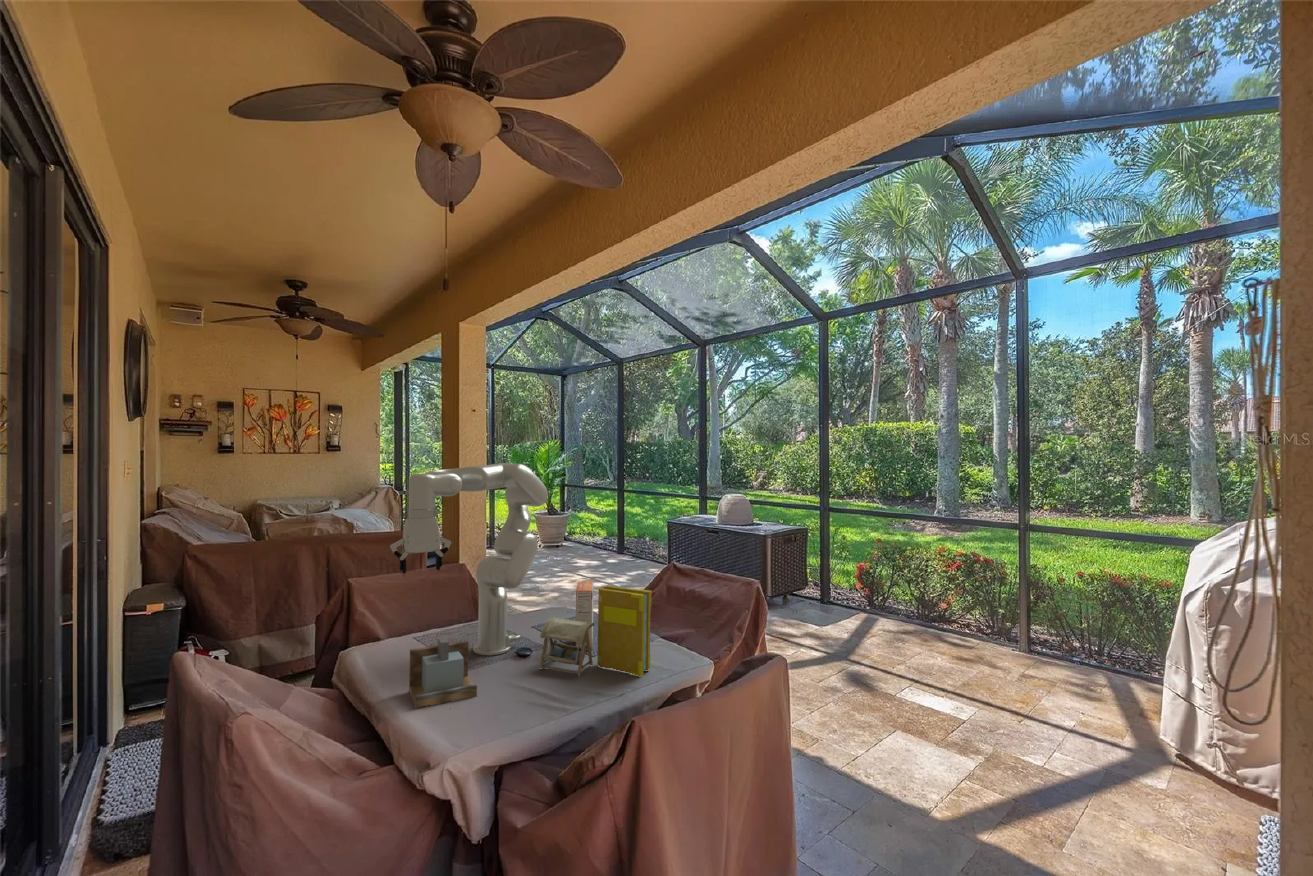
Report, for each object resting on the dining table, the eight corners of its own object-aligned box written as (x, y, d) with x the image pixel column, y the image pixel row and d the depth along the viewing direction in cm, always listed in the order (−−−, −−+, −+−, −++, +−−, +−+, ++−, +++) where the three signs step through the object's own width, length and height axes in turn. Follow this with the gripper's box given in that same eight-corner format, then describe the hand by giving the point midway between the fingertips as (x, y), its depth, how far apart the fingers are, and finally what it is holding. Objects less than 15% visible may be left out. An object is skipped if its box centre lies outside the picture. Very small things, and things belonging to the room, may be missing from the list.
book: (650, 669, 185) (651, 590, 186) (640, 677, 179) (642, 595, 180) (603, 660, 192) (605, 584, 193) (593, 667, 186) (594, 589, 187)
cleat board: (466, 681, 175) (467, 640, 175) (476, 696, 164) (477, 653, 164) (409, 692, 166) (409, 649, 166) (415, 708, 156) (416, 663, 156)
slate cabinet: (457, 678, 172) (458, 633, 172) (463, 686, 166) (464, 640, 166) (421, 684, 167) (422, 639, 167) (425, 694, 161) (426, 646, 161)
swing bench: (538, 670, 184) (539, 623, 184) (553, 660, 193) (554, 615, 193) (580, 677, 179) (581, 629, 179) (594, 666, 188) (594, 620, 188)
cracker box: (576, 637, 215) (577, 580, 215) (593, 637, 216) (593, 580, 216) (574, 651, 201) (575, 590, 201) (592, 650, 202) (593, 590, 202)
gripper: (449, 511, 184) (448, 566, 184) (389, 514, 175) (388, 571, 175) (454, 514, 178) (453, 570, 178) (392, 517, 169) (391, 576, 169)
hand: (420, 571), depth 176 cm, fingers open, 9 cm apart
